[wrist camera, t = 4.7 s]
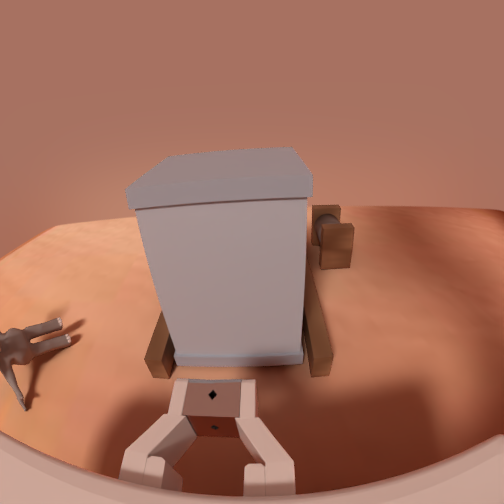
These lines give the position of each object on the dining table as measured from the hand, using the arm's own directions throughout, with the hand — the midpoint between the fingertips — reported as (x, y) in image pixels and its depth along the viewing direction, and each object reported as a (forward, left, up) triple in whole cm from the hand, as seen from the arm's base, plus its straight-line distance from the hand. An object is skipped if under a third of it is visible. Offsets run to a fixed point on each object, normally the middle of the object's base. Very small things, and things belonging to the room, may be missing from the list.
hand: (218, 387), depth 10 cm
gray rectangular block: (0, -10, -7) cm, 11 cm away
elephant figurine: (+18, -4, -7) cm, 20 cm away
